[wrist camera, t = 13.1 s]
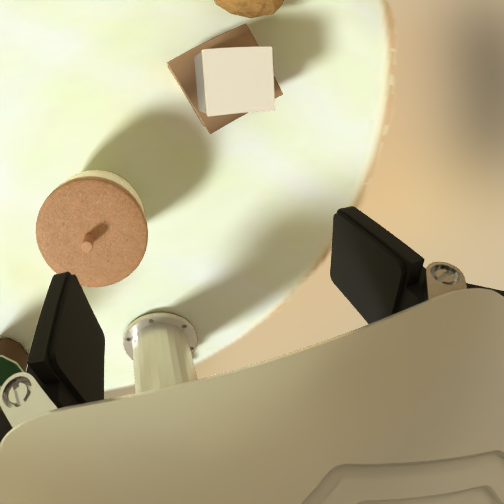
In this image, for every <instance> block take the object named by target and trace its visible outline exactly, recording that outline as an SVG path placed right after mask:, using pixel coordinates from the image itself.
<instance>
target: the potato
mask: <svg viewBox="0 0 504 504" xmlns="http://www.w3.org/2000/svg"><path fill="white" fill-rule="evenodd" d="M214 1H215V3H216V4H217V5H218V6H220V7H222V8H223V9H225V10H226V11H228V12H229V13H231V14H235V15H239V16H244V17H248V18H255V17H259V16H264V15H270V14H274V13H275V11H276V10H277V9H278V8H279V7H280V6H281V5H282V4H283V1H284V0H214Z"/></svg>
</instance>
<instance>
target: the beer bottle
mask: <svg viewBox="0 0 504 504" xmlns="http://www.w3.org/2000/svg"><path fill="white" fill-rule="evenodd" d="M28 357H29V356H28V354H27V352H26V351H25V349H24V348H23V346H22V345H21V344H20V343H17V342H15V341H13V340H11V339H9V338H4V339H0V389H1V387H2V385H3V384H4V382H5V381H6V380H7V379H8V378H9V377H11V376H12V375H14V374H16V373H19V372H26V368H27V363H28ZM1 410H2V408H1V406H0V411H1Z"/></svg>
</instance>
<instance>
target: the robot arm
mask: <svg viewBox="0 0 504 504" xmlns="http://www.w3.org/2000/svg"><path fill="white" fill-rule="evenodd" d="M423 263H424V259H423V258H422V257H421V256H420V255H419V254H417V253H416V252H415V251H414V250H412V249H411V248H410V247H408V246H407V245H406V244H405V243H403V242H402V241H401V240H399V239H398V238H396V237H395V236H394V235H393V234H391V233H390V232H389V231H387V230H386V229H384V228H383V227H382V226H380V225H379V224H378V223H376V222H375V221H374V220H372V219H371V218H369V217H368V216H367V215H365V214H364V213H362V212H361V211H359V210H358V209H357V208H355V207H353V206H351V207H346V208H341V209H339V210H338V211H337V213H336V214H335V215H334V218H333V238H332V255H331V269H330V276H331V279H332V281H333V283H334V284H335V285H336V286H337V287H338V288H339V290H340V291H341V292H342V293H343V294H344V296H345V297H346V298H347V299H348V300H349V301H350V302H351V304H352V305H353V306H354V307H355V308H356V309H357V311H358V312H359V313H360V314H361V315H362V317H363V318H364V319H365V320H366V321H367V323H368V325H366V326H363V327H361V328H358V329H356V330H353V331H350V332H348V333H345V334H342V335H340V336H337V337H334V338H331V339H329V340H326V341H323V342H320V343H317V344H315V345H311V346H309V347H306V348H303V349H300V350H297V351H294V352H291V353H288V354H285V355H282V356H279V357H275V358H272V359H269V360H266V361H262V362H259V363H256V364H253V365H249V366H246V367H242V368H238V369H235V370H232V371H228V372H224V373H221V374H217V375H213V376H209V377H205V378H201V379H197V375H196V371H195V367H194V363H193V359H192V353H193V352H194V350H195V348H196V345H197V336H196V332H195V329H194V328H193V326H192V325H191V324H190V323H189V322H188V321H187V320H186V319H184V318H183V317H180V316H178V315H175V314H171V313H163V312H160V313H151V314H147V315H144V316H141V317H139V318H137V319H136V320H134V321H133V322H132V323H131V324H130V325H129V326H128V327H127V329H126V331H125V333H124V338H123V345H124V349H125V351H126V353H127V355H128V356H129V357H130V358H131V359H132V360H133V361H134V376H135V389H136V393H135V394H130V395H125V396H120V397H115V398H109V399H104V351H105V337H104V334H103V331H102V329H101V327H100V325H99V323H98V321H97V319H96V317H95V315H94V313H93V311H92V309H91V307H90V305H89V303H88V300H87V298H86V296H85V294H84V292H83V290H82V287H81V285H80V283H79V281H78V278H77V276H76V275H75V274H73V275H71V273H70V272H64V273H60V274H56V275H54V276H53V278H52V281H51V283H50V286H49V289H48V292H47V295H46V298H45V301H44V305H43V308H42V311H41V314H40V318H39V321H38V324H37V328H36V332H35V335H34V339H33V343H32V347H31V351H30V355H29V359H28V363H27V364H28V367H27V371H26V372H19V373H16V374H14V375H12V376H11V377H9V378H8V379H7V380H6V381H5V382H4V384H3V385H2V387H1V389H0V406H1V408H2V410H1V411H0V504H504V291H500V290H495V289H491V288H486V287H482V286H476V285H472V284H468V283H466V282H465V278H464V275H463V273H462V272H461V271H460V270H459V269H458V268H457V267H455V266H453V265H451V264H448V263H444V262H434V263H431V264H429V265H428V266H427V268H426V269H425V268H424V267H423Z"/></svg>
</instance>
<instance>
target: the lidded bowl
mask: <svg viewBox="0 0 504 504" xmlns="http://www.w3.org/2000/svg"><path fill="white" fill-rule="evenodd" d="M36 238H37V243H38V247H39V250H40V252H41V254H42V256H43V258H44V259H45V261H46V262H47V264H48V265H49V266H50V267H51V268H52V270H53V271H55V272H56V273H57V274H60V273H64V272H70V273H71V275H73V274H75V275H76V276H77V278H78V281H79V283H80V285H81V286H87V287H102V286H107V285H111V284H114V283H116V282H119V281H121V280H123V279H124V278H126V277H127V276H128V275H130V274H131V273H132V272H133V271H134V270H135V269H136V268H137V266H138V265H139V264H140V262H141V260H142V258H143V256H144V254H145V251H146V247H147V241H148V230H147V222H146V218H145V212H144V209H143V205H142V203H141V200H140V198H139V196H138V194H137V193H136V191H135V190H134V189H133V187H132V186H131V185H130V184H129V183H128V182H127V181H125V180H124V179H123V178H122V177H120V176H118V175H116V174H114V173H111V172H108V171H103V170H90V171H84V172H81V173H78V174H75V175H74V176H72V177H70V178H68V179H67V180H65V181H64V182H63V183H62V184H60V185H59V186H58V187H57V188H56V189H55V190H54V191H53V192H52V193H51V194H50V195H49V196H48V197H47V199H46V200H45V202H44V203H43V205H42V207H41V209H40V211H39V214H38V218H37V222H36Z"/></svg>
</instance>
